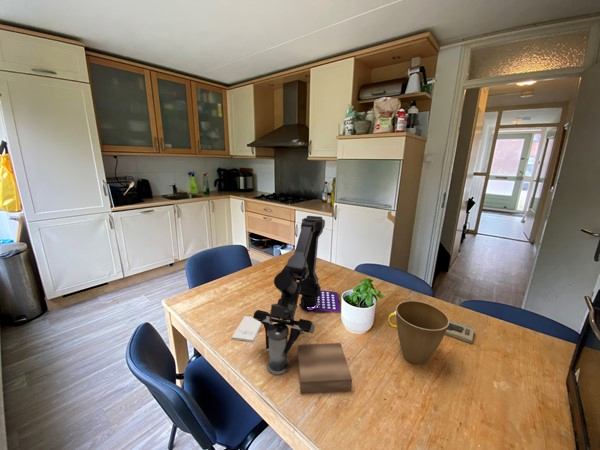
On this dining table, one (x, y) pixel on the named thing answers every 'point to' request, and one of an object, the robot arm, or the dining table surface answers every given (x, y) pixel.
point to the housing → (278, 349)
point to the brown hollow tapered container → (420, 330)
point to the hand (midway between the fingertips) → (276, 351)
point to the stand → (323, 368)
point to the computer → (460, 331)
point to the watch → (389, 319)
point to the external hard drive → (247, 329)
